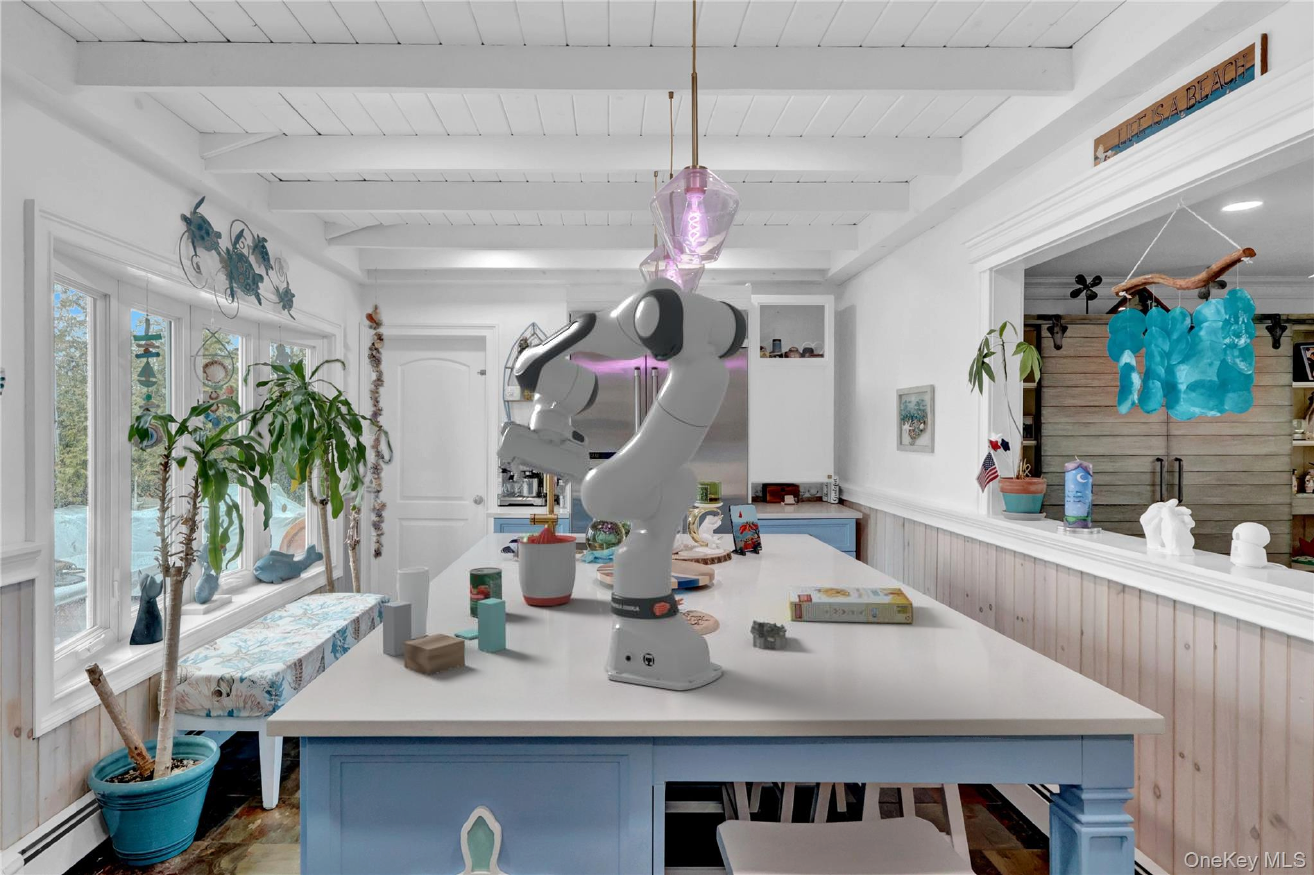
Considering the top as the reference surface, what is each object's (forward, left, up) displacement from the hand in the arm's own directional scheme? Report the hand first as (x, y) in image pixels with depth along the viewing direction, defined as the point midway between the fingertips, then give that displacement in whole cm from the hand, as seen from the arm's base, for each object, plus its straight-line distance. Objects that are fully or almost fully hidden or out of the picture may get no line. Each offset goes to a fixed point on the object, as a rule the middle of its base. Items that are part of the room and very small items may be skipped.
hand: (539, 487), depth 154 cm
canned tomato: (+32, -12, -34) cm, 48 cm away
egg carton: (-36, -31, -34) cm, 59 cm away
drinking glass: (+29, +11, -34) cm, 46 cm away
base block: (+7, +21, -34) cm, 40 cm away
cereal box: (-40, -65, -34) cm, 84 cm away
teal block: (+7, +7, -33) cm, 35 cm away
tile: (+19, +3, -33) cm, 39 cm away
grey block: (+21, +20, -33) cm, 44 cm away
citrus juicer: (+30, -30, -34) cm, 55 cm away
